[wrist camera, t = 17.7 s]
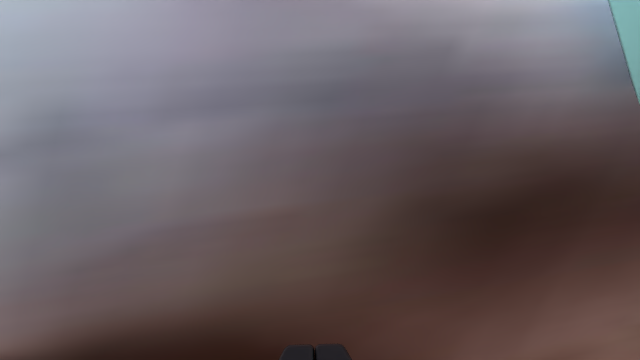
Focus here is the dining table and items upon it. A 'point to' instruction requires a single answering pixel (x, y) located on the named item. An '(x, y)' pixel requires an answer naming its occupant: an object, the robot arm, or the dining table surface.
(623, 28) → the teal domino
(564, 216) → the dining table surface
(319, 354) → the robot arm
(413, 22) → the dining table surface
